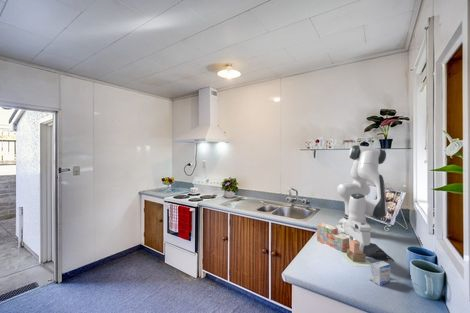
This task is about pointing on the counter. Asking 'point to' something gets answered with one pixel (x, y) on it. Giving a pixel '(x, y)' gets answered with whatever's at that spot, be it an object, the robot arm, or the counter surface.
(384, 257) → the dark slate chunk
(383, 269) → the medicine box
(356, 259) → the base brick
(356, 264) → the build plate
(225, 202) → the counter surface
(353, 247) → the top brick
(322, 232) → the stack of blocks
